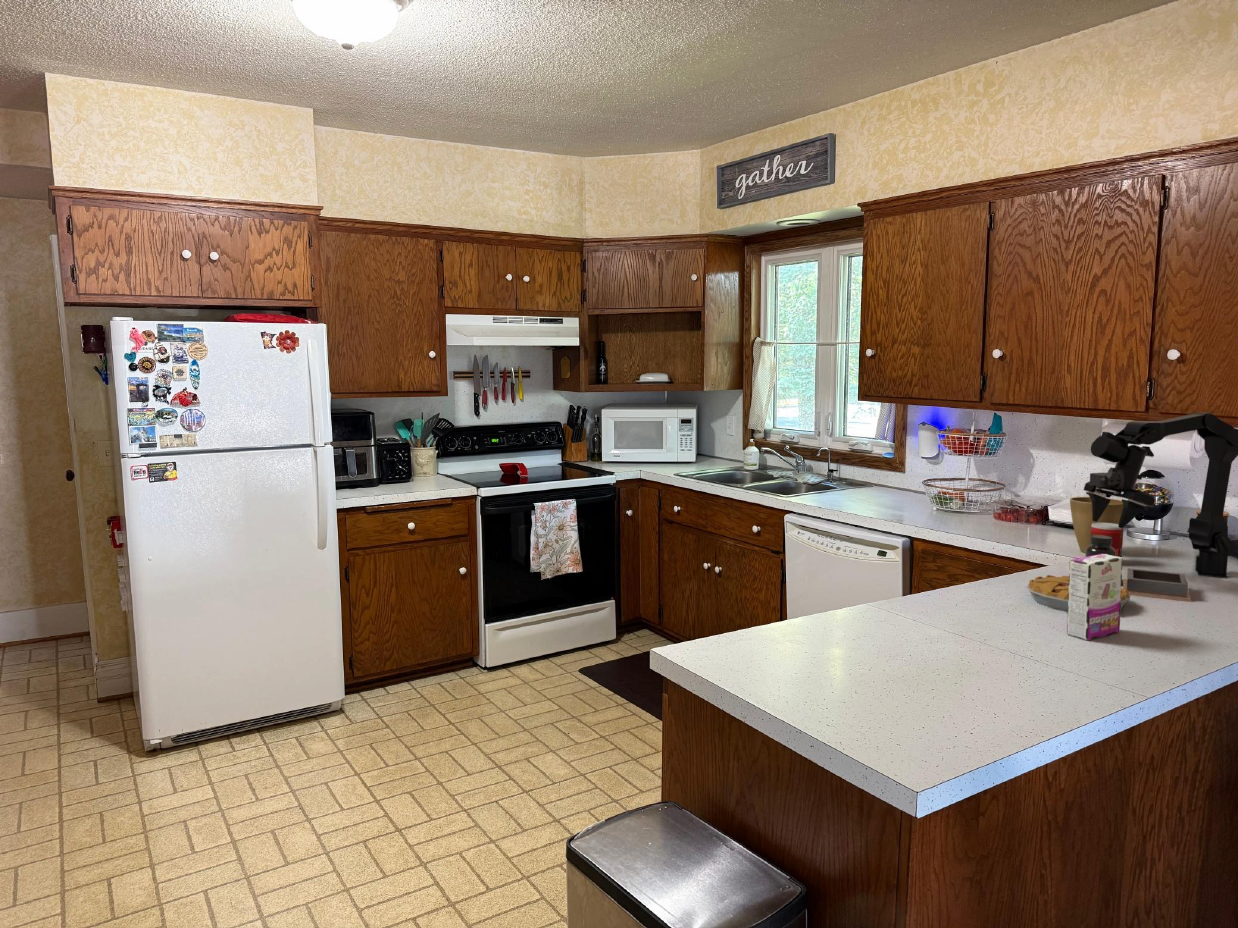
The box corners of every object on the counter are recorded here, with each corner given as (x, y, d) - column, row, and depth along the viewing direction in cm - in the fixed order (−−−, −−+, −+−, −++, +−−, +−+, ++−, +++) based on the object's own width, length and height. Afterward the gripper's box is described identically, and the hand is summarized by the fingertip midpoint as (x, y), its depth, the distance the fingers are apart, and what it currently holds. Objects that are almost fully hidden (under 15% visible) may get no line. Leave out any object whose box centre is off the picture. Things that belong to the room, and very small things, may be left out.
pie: (1013, 604, 203) (1014, 584, 202) (1042, 586, 218) (1043, 567, 218) (1116, 622, 188) (1118, 601, 187) (1139, 602, 204) (1141, 582, 203)
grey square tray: (1187, 588, 215) (1188, 573, 215) (1190, 601, 203) (1192, 586, 203) (1123, 581, 222) (1124, 567, 222) (1123, 593, 210) (1124, 578, 210)
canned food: (1125, 566, 239) (1127, 527, 237) (1094, 565, 240) (1096, 527, 239) (1115, 560, 246) (1117, 522, 245) (1085, 559, 248) (1087, 522, 247)
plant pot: (1127, 559, 247) (1130, 505, 245) (1070, 555, 253) (1072, 502, 251) (1118, 548, 261) (1121, 497, 259) (1064, 545, 266) (1067, 495, 265)
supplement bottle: (1078, 578, 226) (1080, 534, 224) (1102, 577, 226) (1105, 533, 225) (1094, 585, 219) (1097, 539, 217) (1119, 584, 219) (1122, 538, 218)
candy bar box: (1097, 626, 185) (1102, 552, 183) (1120, 633, 180) (1125, 557, 178) (1064, 634, 179) (1068, 558, 178) (1086, 641, 175) (1091, 563, 173)
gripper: (1077, 455, 228) (1057, 509, 229) (1129, 462, 210) (1107, 522, 211) (1111, 467, 231) (1091, 521, 231) (1166, 476, 212) (1144, 534, 213)
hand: (1107, 524), depth 222 cm, fingers open, 9 cm apart
